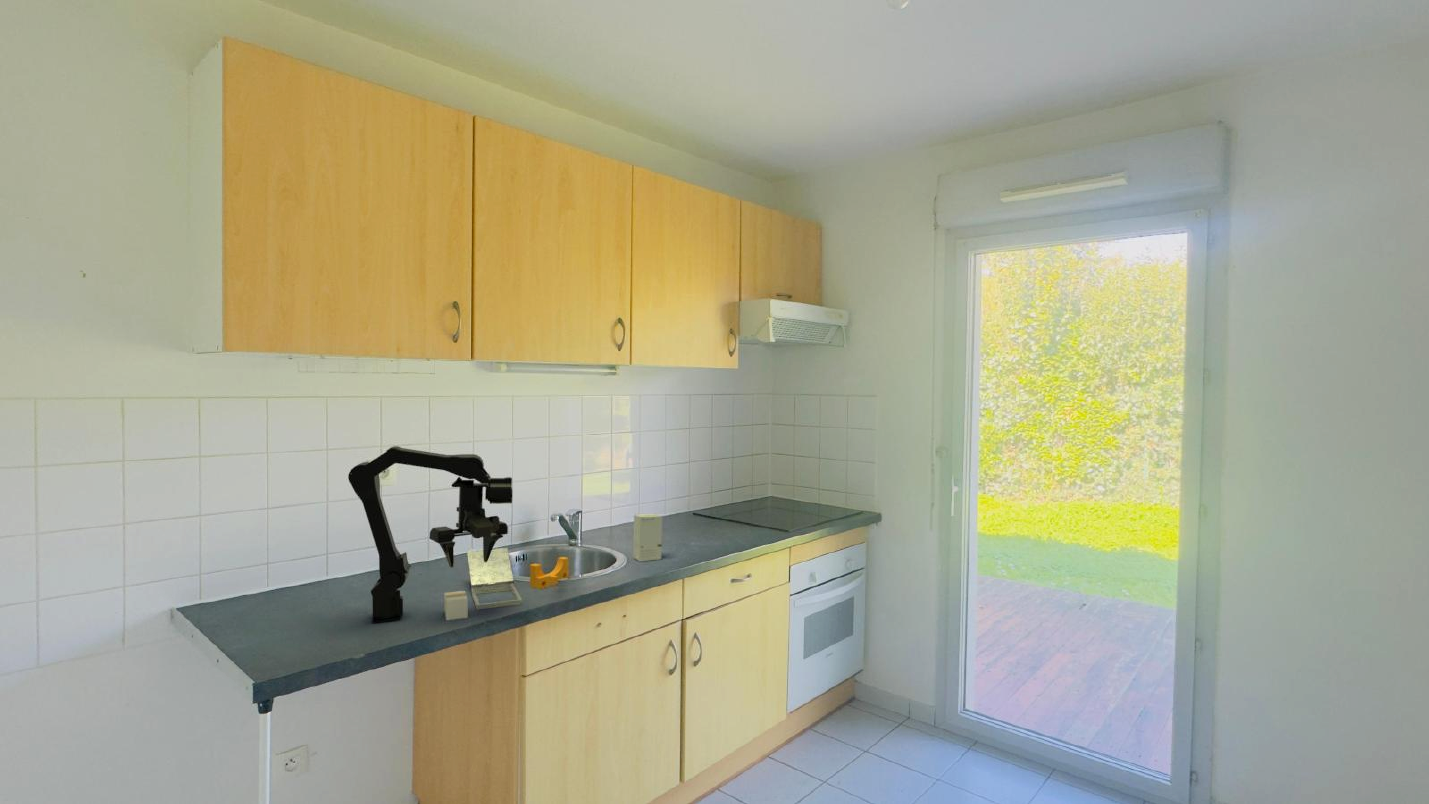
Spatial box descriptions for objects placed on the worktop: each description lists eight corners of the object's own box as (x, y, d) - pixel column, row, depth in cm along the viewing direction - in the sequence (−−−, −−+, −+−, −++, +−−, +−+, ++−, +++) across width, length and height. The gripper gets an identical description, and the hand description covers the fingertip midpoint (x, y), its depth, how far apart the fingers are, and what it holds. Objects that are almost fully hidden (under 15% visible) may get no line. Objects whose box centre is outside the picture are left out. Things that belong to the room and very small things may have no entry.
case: (477, 609, 183) (476, 575, 183) (467, 581, 208) (467, 551, 208) (521, 604, 188) (521, 570, 188) (507, 577, 213) (507, 547, 212)
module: (446, 620, 175) (446, 600, 175) (444, 612, 182) (444, 592, 181) (467, 618, 177) (467, 597, 177) (464, 609, 184) (464, 589, 183)
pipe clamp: (539, 589, 202) (539, 567, 201) (530, 586, 204) (530, 564, 204) (572, 580, 211) (572, 559, 211) (563, 577, 214) (563, 556, 213)
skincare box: (639, 562, 232) (639, 517, 231) (632, 558, 237) (632, 514, 237) (662, 559, 236) (663, 515, 235) (655, 555, 241) (655, 512, 241)
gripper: (449, 512, 169) (447, 577, 169) (519, 505, 182) (517, 565, 182) (429, 505, 177) (427, 567, 177) (498, 499, 190) (496, 556, 190)
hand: (468, 564), depth 182 cm, fingers open, 9 cm apart
